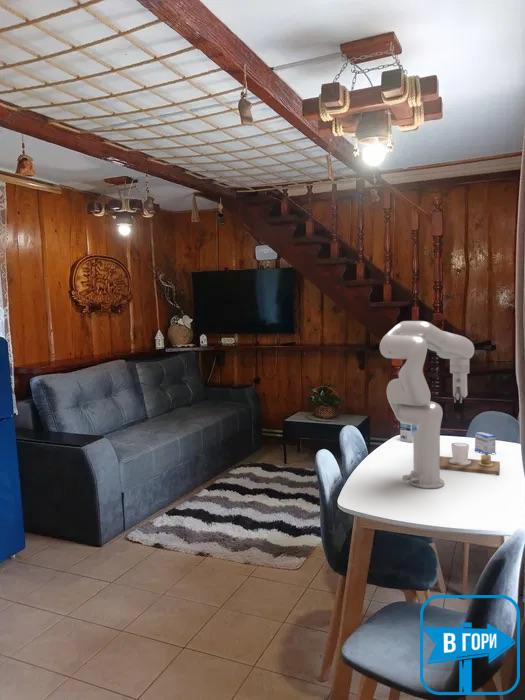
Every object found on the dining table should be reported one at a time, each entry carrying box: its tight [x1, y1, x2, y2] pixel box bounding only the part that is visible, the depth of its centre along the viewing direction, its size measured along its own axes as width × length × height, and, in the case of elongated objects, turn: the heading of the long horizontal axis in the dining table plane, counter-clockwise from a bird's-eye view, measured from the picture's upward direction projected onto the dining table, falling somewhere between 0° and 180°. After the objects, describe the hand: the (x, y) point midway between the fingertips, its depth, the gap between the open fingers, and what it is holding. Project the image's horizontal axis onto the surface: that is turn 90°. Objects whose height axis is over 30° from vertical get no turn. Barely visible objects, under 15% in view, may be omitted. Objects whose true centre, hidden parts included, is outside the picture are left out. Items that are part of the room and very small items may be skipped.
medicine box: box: [474, 431, 497, 455], centre depth 238 cm, size 8×4×9 cm, turn 25°
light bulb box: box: [399, 421, 420, 444], centre depth 264 cm, size 11×7×11 cm, turn 137°
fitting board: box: [440, 454, 501, 476], centre depth 218 cm, size 24×14×5 cm, turn 65°
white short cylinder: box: [450, 442, 470, 463], centre depth 219 cm, size 7×7×7 cm
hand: (459, 410), depth 219 cm, fingers open, 9 cm apart
